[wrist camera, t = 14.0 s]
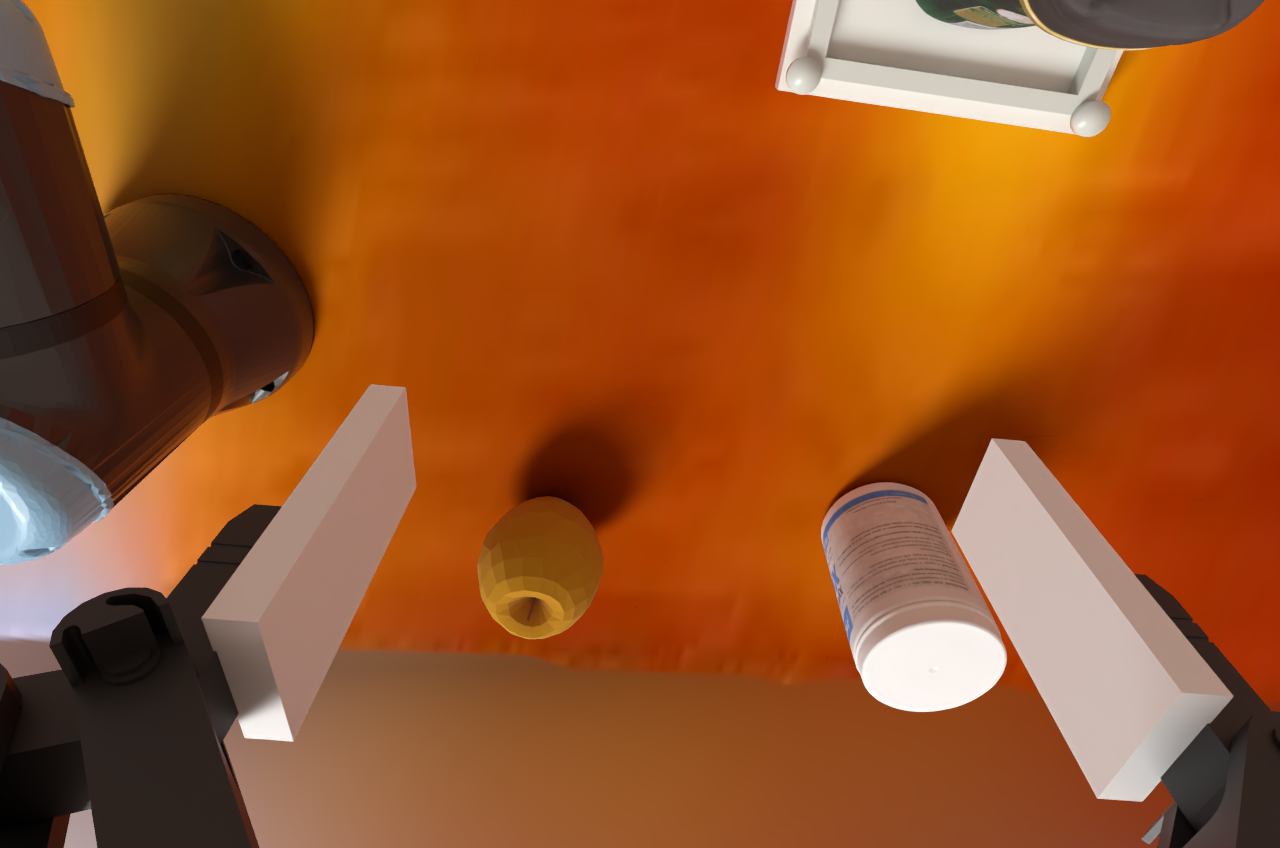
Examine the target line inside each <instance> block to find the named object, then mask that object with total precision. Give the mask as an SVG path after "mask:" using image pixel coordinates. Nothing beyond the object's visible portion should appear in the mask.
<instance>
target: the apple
mask: <svg viewBox="0 0 1280 848" xmlns="http://www.w3.org/2000/svg"><path fill="white" fill-rule="evenodd" d="M602 573H603V556H602V550H601V547H600V544H599V541H598V539H597V536H596V534H595V531H594V528H593V526H592V525H591V523H590V522H589V521H588V519H587V518H586V517H585V515H584V514H583V513H582V512H581V511H580V510H579V509H578V508H576V507H575V506H574V505H572V504H570V503H568V502H567V501H565V500H563V499H561V498H558V497H551V496H545V497H537V498H534V499H530V500H527V501H524V502H522V503H521V504H519V505H518V506H516V507H515V508H513V509H511V510H510V511H509V512H508V513H507V514H506V515H505V516H504V517H502V518H501V519H500V520H499V521H498V523H497V524H496V525H495V526H494V527H493V528H492V529H491V530H490V531H489V532H488V534H487V536H486V538H485V541H484V543H483V546H482V550H481V553H480V557H479V560H478V577H479V585H480V593H481V597H482V600H483V601H484V603H485V605H486V607H487V609H488V611H489V612H490V614H491V616H492V617H493V619H495V620H496V621H497V622H498V623H499V624H500V625H501V626H503V627H504V628H505V629H506V630H507V631H508V632H509V633H511V634H514V635H517V636H520V637H523V638H526V639H544V638H547V637H550V636H553V635H556V634H559V633H561V632H563V631H565V630H567V629H568V628H570V627H571V626H572V625H573V624H574V623H575V622H576V621H577V620H578V619H579V618H580V617H581V616H582V615H583V614H584V612H585V611H586V610H587V608H588V607H589V606H590V604H591V602H592V600H593V598H594V595H595V593H596V591H597V589H598V586H599V583H600V579H601V576H602Z"/></svg>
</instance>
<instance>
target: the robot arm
mask: <svg viewBox="0 0 1280 848" xmlns="http://www.w3.org/2000/svg"><path fill="white" fill-rule="evenodd" d="M70 107H75V105H74V101H73V98H72V97H71V95H70V94H69V93H67V92H66V91H65V90H64V89H63V86H62V83H61V80H60V77H59V75H58V72H57V69H56V66H55V63H54V60H53V58H52V55H51V52H50V49H49V46H48V44H47V41H46V38H45V35H44V32H43V30H42V28H41V25H40V24H39V22H38V20H37V18H36V17H35V15H34V14H33V13H32V11H31V10H30V9H29V8H28V7H27V6H26V5H25V4H24V3H23V2H22V1H21V0H0V565H6V564H17V563H23V562H28V561H32V560H35V559H38V558H41V557H44V556H46V555H48V554H50V553H52V552H54V551H56V550H57V549H59V548H60V547H62V546H63V545H64V544H66V543H67V542H68V541H70V540H71V539H72V538H73V537H75V536H76V535H77V534H79V533H80V532H81V531H82V530H84V529H85V528H86V527H87V526H89V525H90V524H91V523H94V522H97V521H99V520H101V519H102V518H103V517H104V516H106V515H107V514H108V513H109V511H110V510H111V509H112V508H113V507H114V506H115V505H116V504H117V503H118V502H119V501H120V500H122V499H123V498H124V497H125V496H126V495H127V494H128V493H129V492H130V491H131V490H132V489H133V488H134V487H135V486H136V485H137V484H139V483H140V482H141V481H142V480H143V479H144V478H145V477H146V476H147V475H148V474H149V473H150V472H151V471H152V470H153V469H154V468H156V467H157V466H158V465H159V464H160V463H161V462H162V461H163V460H164V459H165V458H166V457H167V456H168V455H169V454H170V453H171V452H173V451H174V450H175V449H176V448H177V447H178V446H179V445H180V444H181V443H182V442H183V441H184V440H185V439H186V438H187V437H188V436H190V435H191V434H192V433H193V432H194V431H195V430H196V429H197V428H198V427H199V426H200V425H201V424H202V423H204V422H205V421H206V420H207V419H208V418H210V417H213V416H216V415H219V414H222V413H225V412H228V411H231V410H234V409H237V408H240V407H243V406H246V405H249V404H251V403H254V402H257V401H260V400H262V399H264V398H266V397H268V396H270V395H272V394H273V393H275V392H276V391H277V390H279V389H280V388H281V387H282V386H284V385H285V384H286V383H287V382H288V381H289V380H290V379H291V378H292V377H293V376H294V375H295V374H296V373H297V372H298V371H299V369H300V368H301V367H302V366H303V364H304V362H305V361H306V359H307V357H308V355H309V352H310V349H311V345H312V340H313V331H314V323H313V314H312V309H311V305H310V301H309V298H308V295H307V292H306V290H305V287H304V285H303V283H302V281H301V279H300V277H299V276H298V274H297V272H296V270H295V269H294V267H293V266H292V264H291V263H290V261H289V260H288V259H287V257H286V256H285V255H284V254H283V252H282V251H281V250H280V249H279V248H278V247H277V246H276V245H275V244H274V242H272V241H271V240H270V239H269V238H268V237H267V236H266V235H265V234H264V233H263V232H262V231H260V230H259V229H258V228H257V227H255V226H254V225H253V224H251V223H250V222H248V221H247V220H245V219H244V218H242V217H241V216H239V215H237V214H236V213H234V212H232V211H230V210H228V209H226V208H224V207H222V206H220V205H217V204H215V203H212V202H209V201H206V200H203V199H200V198H196V197H191V196H185V195H177V194H161V195H153V196H148V197H144V198H141V199H138V200H135V201H133V202H130V203H127V204H125V205H122V206H119V207H117V208H115V209H113V210H111V211H109V212H108V213H106V214H104V215H103V213H102V210H101V206H100V203H99V200H98V197H97V193H96V190H95V187H94V184H93V180H92V177H91V174H90V171H89V167H88V164H87V161H86V157H85V154H84V151H83V148H82V144H81V141H80V138H79V135H78V131H77V128H76V125H75V122H74V118H73V115H72V112H71V109H70ZM415 489H416V479H415V469H414V460H413V451H412V441H411V432H410V422H409V413H408V404H407V394H406V387H395V386H383V385H372V384H371V385H370V386H369V387H368V389H367V390H366V391H365V393H364V394H363V396H362V397H361V398H360V400H359V401H358V403H357V404H356V405H355V407H354V408H353V409H352V411H351V412H350V414H349V415H348V416H347V418H346V419H345V420H344V422H343V423H342V425H341V426H340V427H339V429H338V430H337V431H336V433H335V434H334V436H333V437H332V438H331V440H330V441H329V443H328V444H327V445H326V447H325V448H324V449H323V451H322V452H321V454H320V455H319V456H318V458H317V459H316V460H315V462H314V463H313V465H312V466H311V467H310V469H309V470H308V472H307V473H306V474H305V476H304V477H303V478H302V480H301V481H300V483H299V484H298V485H297V487H296V488H295V489H294V491H293V492H292V494H291V495H290V496H289V498H288V499H287V500H286V502H285V503H284V505H283V506H282V507H280V506H268V505H256V504H254V505H253V506H251V507H250V508H248V509H247V510H245V511H244V512H242V513H241V514H239V515H238V516H236V517H235V518H233V519H232V520H230V521H229V522H228V523H227V524H226V525H225V526H224V528H223V529H222V530H221V531H220V533H219V534H218V535H217V536H216V538H215V539H214V540H213V541H212V543H211V547H208V548H207V549H206V550H205V551H204V553H203V554H202V555H201V556H200V558H199V559H198V560H197V561H198V562H197V564H196V565H193V566H192V567H191V569H190V570H189V571H188V572H187V574H186V575H185V576H184V577H183V579H182V580H181V581H180V582H179V584H178V585H177V586H176V587H175V589H174V590H173V591H172V592H171V594H170V595H169V596H168V597H167V598H165V597H164V596H163V594H162V593H161V592H158V591H155V590H152V589H149V588H124V589H120V590H115V591H111V592H107V593H104V594H101V595H99V596H97V597H95V598H93V599H90V600H88V601H86V602H84V603H82V604H81V605H79V606H78V607H77V608H75V609H74V610H73V611H71V612H70V613H68V614H67V615H66V616H64V618H63V619H62V620H61V621H60V623H59V624H58V625H57V627H56V628H55V629H54V630H53V632H52V636H51V641H50V648H51V650H52V652H53V654H54V655H55V657H56V659H57V661H58V663H59V664H60V666H61V668H62V670H57V671H51V672H46V673H40V674H35V675H29V676H24V677H18V678H11V676H10V674H9V673H8V671H7V670H6V669H5V668H4V667H3V666H2V665H1V664H0V848H64V843H65V838H66V833H67V827H68V823H69V818H70V814H71V813H75V812H79V811H84V810H88V809H91V810H92V816H93V822H94V828H95V835H96V841H97V847H98V848H259V845H258V842H257V839H256V837H255V833H254V830H253V827H252V824H251V821H250V818H249V816H248V812H247V809H246V806H245V803H244V800H243V797H242V794H241V791H240V788H239V785H238V782H237V779H236V777H235V773H234V770H233V767H232V764H231V761H230V758H229V755H228V752H227V749H226V747H225V744H224V741H223V739H224V738H225V736H226V734H227V732H228V730H229V729H230V727H231V725H232V724H233V722H234V720H235V719H236V717H238V720H239V723H240V726H241V729H242V731H243V734H244V737H245V738H253V739H268V740H281V741H294V739H295V737H296V735H297V733H298V731H299V729H300V727H301V725H302V723H303V721H304V719H305V717H306V714H307V712H308V710H309V708H310V706H311V704H312V702H313V700H314V697H315V696H316V694H317V692H318V690H319V688H320V685H321V683H322V681H323V679H324V677H325V675H326V673H327V671H328V669H329V667H330V665H331V663H332V661H333V659H334V656H335V654H336V652H337V650H338V648H339V646H340V644H341V642H342V640H343V638H344V636H345V634H346V632H347V630H348V628H349V625H350V623H351V621H352V619H353V617H354V615H355V613H356V611H357V609H358V607H359V605H360V603H361V601H362V599H363V597H364V594H365V592H366V590H367V588H368V586H369V584H370V582H371V580H372V578H373V576H374V574H375V572H376V570H377V568H378V565H379V563H380V561H381V559H382V557H383V555H384V553H385V551H386V549H387V547H388V545H389V543H390V541H391V539H392V536H393V534H394V532H395V530H396V528H397V526H398V524H399V522H400V520H401V518H402V516H403V514H404V512H405V510H406V507H407V505H408V503H409V501H410V499H411V497H412V495H413V493H414V491H415ZM952 533H953V535H954V536H955V538H956V540H957V542H958V544H959V546H960V547H961V549H962V551H963V553H964V555H965V557H966V558H967V560H968V562H969V564H970V566H971V568H972V569H973V571H974V573H975V575H976V577H977V579H978V580H979V582H980V584H981V586H982V588H983V590H984V591H985V593H986V595H987V597H988V599H989V601H990V602H991V604H992V606H993V608H994V610H995V612H996V613H997V615H998V617H999V619H1000V621H1001V623H1002V624H1003V626H1004V628H1005V630H1006V632H1007V634H1008V635H1009V637H1010V639H1011V641H1012V643H1013V645H1014V646H1015V648H1016V650H1017V652H1018V654H1019V656H1020V657H1021V659H1022V661H1023V663H1024V665H1025V667H1026V668H1027V670H1028V672H1029V674H1030V676H1031V678H1032V679H1033V681H1034V683H1035V685H1036V687H1037V689H1038V691H1039V692H1040V694H1041V696H1042V698H1043V700H1044V702H1045V703H1046V705H1047V707H1048V709H1049V711H1050V713H1051V714H1052V716H1053V718H1054V720H1055V722H1056V724H1057V725H1058V727H1059V729H1060V731H1061V733H1062V734H1063V736H1064V738H1065V740H1066V742H1067V744H1068V745H1069V747H1070V749H1071V751H1072V753H1073V755H1074V756H1075V758H1076V760H1077V762H1078V764H1079V766H1080V767H1081V769H1082V771H1083V773H1084V775H1085V777H1086V778H1087V780H1088V782H1089V784H1090V786H1091V788H1092V789H1093V791H1094V793H1095V795H1096V797H1097V798H1099V799H1113V800H1128V801H1141V802H1142V801H1143V800H1144V799H1145V798H1146V797H1147V796H1148V795H1149V794H1150V792H1151V791H1152V790H1153V789H1154V788H1155V787H1156V785H1157V784H1158V783H1159V782H1160V781H1161V780H1162V781H1163V783H1164V785H1165V786H1166V788H1167V789H1168V790H1169V792H1170V794H1171V796H1172V797H1173V799H1174V800H1175V801H1174V802H1173V803H1172V804H1171V805H1170V806H1169V808H1168V809H1167V810H1166V811H1165V812H1164V813H1163V814H1162V815H1161V816H1160V817H1159V819H1158V820H1157V821H1156V822H1155V823H1154V824H1153V825H1152V826H1151V827H1150V828H1149V830H1148V831H1147V832H1146V833H1145V835H1144V837H1143V838H1142V840H1143V841H1145V842H1146V843H1148V844H1150V843H1151V842H1152V841H1153V840H1154V839H1155V838H1156V837H1157V836H1160V837H1159V842H1158V847H1157V848H1280V712H1275V711H1271V710H1270V709H1269V708H1268V707H1267V706H1266V704H1265V703H1264V702H1263V701H1262V700H1261V698H1260V697H1259V696H1258V695H1257V694H1256V693H1255V691H1254V690H1253V689H1252V688H1251V687H1250V686H1249V684H1248V683H1247V682H1246V681H1245V680H1244V679H1243V677H1242V676H1241V675H1240V674H1239V673H1238V671H1237V670H1236V669H1235V668H1234V667H1233V666H1232V664H1231V663H1230V662H1229V661H1228V660H1227V659H1226V657H1225V656H1224V655H1223V654H1222V653H1221V652H1220V650H1219V649H1218V648H1217V647H1216V646H1215V645H1214V643H1212V642H1209V641H1208V638H1209V637H1208V636H1207V635H1206V634H1205V633H1204V632H1203V630H1202V629H1201V628H1200V627H1199V626H1198V625H1197V623H1193V622H1192V620H1193V619H1192V618H1191V616H1190V615H1189V614H1188V613H1187V612H1186V610H1185V609H1184V608H1183V607H1182V606H1181V605H1180V603H1179V602H1178V601H1177V600H1176V599H1175V598H1174V596H1173V595H1171V594H1170V593H1169V592H1167V591H1166V590H1165V589H1163V588H1162V587H1161V586H1159V585H1158V584H1157V583H1155V582H1154V581H1153V580H1151V579H1150V578H1149V577H1147V576H1146V575H1140V574H1133V572H1132V571H1131V570H1130V569H1129V568H1128V566H1127V565H1126V564H1125V563H1124V561H1123V560H1122V559H1121V558H1120V557H1119V555H1118V554H1117V553H1116V552H1115V550H1114V549H1113V548H1112V547H1111V546H1110V544H1109V543H1108V542H1107V541H1106V539H1105V538H1104V537H1103V536H1102V535H1101V533H1100V532H1099V531H1098V530H1097V528H1096V527H1095V526H1094V525H1093V524H1092V522H1091V521H1090V520H1089V519H1088V517H1087V516H1086V515H1085V514H1084V512H1083V511H1082V510H1081V509H1080V508H1079V506H1078V505H1077V504H1076V503H1075V501H1074V500H1073V499H1072V498H1071V497H1070V495H1069V494H1068V493H1067V492H1066V490H1065V489H1064V488H1063V487H1062V486H1061V484H1060V483H1059V482H1058V481H1057V479H1056V478H1055V477H1054V476H1053V475H1052V473H1051V472H1050V471H1049V470H1048V468H1047V467H1046V466H1045V465H1044V464H1043V462H1042V461H1041V460H1040V459H1039V457H1038V456H1037V455H1036V454H1035V453H1034V451H1033V450H1032V449H1031V448H1030V446H1029V445H1028V444H1027V443H1026V442H1025V441H1018V440H1006V439H995V438H992V439H991V442H990V444H989V446H988V448H987V451H986V453H985V455H984V458H983V460H982V462H981V465H980V467H979V469H978V471H977V474H976V476H975V478H974V481H973V483H972V485H971V488H970V490H969V492H968V494H967V497H966V499H965V501H964V504H963V506H962V508H961V511H960V513H959V515H958V517H957V520H956V522H955V524H954V527H953V529H952Z"/></svg>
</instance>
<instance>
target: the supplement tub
mask: <svg viewBox="0 0 1280 848" xmlns="http://www.w3.org/2000/svg"><path fill="white" fill-rule="evenodd" d="M821 538H822V543H823V547H824V551H825V555H826V559H827V563H828V566H829V570H830V574H831V578H832V581H833V585H834V588H835V592H836V596H837V599H838V603H839V607H840V610H841V614H842V618H843V622H844V625H845V629H846V633H847V636H848V640H849V644H850V647H851V650H852V654H853V657H854V660H855V663H856V667H857V669H858V671H859V673H860V674H861V678H862V680H863V683H864V685H865V687H866V689H867V690H868V691H869V693H870V694H871V695H872V696H873V697H875V698H876V699H877V700H879V701H880V702H882V703H884V704H887V705H889V706H891V707H894V708H897V709H902V710H907V711H916V712H929V711H939V710H945V709H950V708H953V707H957V706H960V705H963V704H965V703H968V702H970V701H972V700H974V699H976V698H978V697H979V696H981V695H982V694H984V693H985V692H987V691H988V690H989V689H990V688H992V687H993V686H994V685H995V684H996V682H997V681H998V680H999V679H1000V677H1001V676H1002V674H1003V672H1004V669H1005V666H1006V662H1007V653H1006V649H1005V646H1004V644H1003V642H1002V640H1001V635H1000V632H999V629H998V627H997V625H996V623H995V621H994V619H993V617H992V615H991V613H990V611H989V609H988V607H987V605H986V603H985V601H984V599H983V597H982V595H981V593H980V591H979V589H978V587H977V585H976V583H975V581H974V579H973V577H972V575H971V574H970V572H969V570H968V568H967V566H966V564H965V562H964V560H963V558H962V556H961V554H960V552H959V550H958V548H957V546H956V544H955V542H954V541H953V539H952V537H951V535H950V533H949V531H948V529H947V527H946V525H945V523H944V521H943V519H942V517H941V515H940V514H939V512H938V510H937V508H936V506H935V505H934V503H933V502H932V501H931V499H930V498H929V497H927V496H926V495H925V494H924V493H922V492H921V491H919V490H917V489H915V488H913V487H910V486H907V485H903V484H900V483H893V482H880V483H873V484H868V485H864V486H861V487H859V488H856V489H854V490H852V491H850V492H848V493H847V494H845V495H844V496H842V497H841V498H840V499H838V500H837V501H836V502H835V503H834V504H833V505H832V507H831V508H830V509H829V511H828V512H827V514H826V516H825V518H824V520H823V524H822V528H821Z"/></svg>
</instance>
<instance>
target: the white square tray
mask: <svg viewBox="0 0 1280 848" xmlns="http://www.w3.org/2000/svg"><path fill="white" fill-rule="evenodd" d="M1123 51H1124V50H1107V49H1099V48H1092V47H1086V46H1082V45H1077V44H1074V43H1071V42H1067V41H1064V40H1061V39H1059V38H1057V37H1055V36H1052V35H1050V34H1048V33H1046V32H1044V31H1043V30H1041V29H1040V28H1039V27H1037V26H1030V27H1023V28H1015V29H1001V30H984V29H974V28H966V27H961V26H957V25H952V24H949V23H946V22H942V21H940V20H937V19H935V18H933V17H931V16H929V15H928V14H926V13H925V12H924V11H923V10H922V9H921V8H920V6H919V5H918V4H917V2H916V0H793V2H792V7H791V12H790V17H789V21H788V26H787V31H786V36H785V41H784V45H783V50H782V55H781V60H780V64H779V69H778V74H777V79H776V83H775V88H776V89H777V90H781V91H788V92H794V93H796V94H800V95H805V94H808V95H815V96H822V97H828V98H835V99H842V100H849V101H855V102H862V103H869V104H876V105H882V106H889V107H896V108H903V109H909V110H916V111H923V112H929V113H936V114H943V115H950V116H956V117H963V118H970V119H977V120H983V121H990V122H997V123H1004V124H1010V125H1017V126H1024V127H1031V128H1037V129H1044V130H1051V131H1058V132H1064V133H1071V134H1078V135H1081V136H1084V137H1091V136H1094V135H1097V134H1098V133H1100V132H1101V131H1102V130H1103V129H1104V128H1105V127H1106V126H1107V124H1108V122H1109V120H1110V116H1111V111H1110V108H1109V106H1108V105H1107V104H1106V103H1104V102H1101V100H1102V98H1103V96H1104V93H1105V91H1106V89H1107V87H1108V84H1109V82H1110V80H1111V78H1112V75H1113V73H1114V71H1115V69H1116V66H1117V64H1118V62H1119V60H1120V57H1121V55H1122V53H1123Z"/></svg>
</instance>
